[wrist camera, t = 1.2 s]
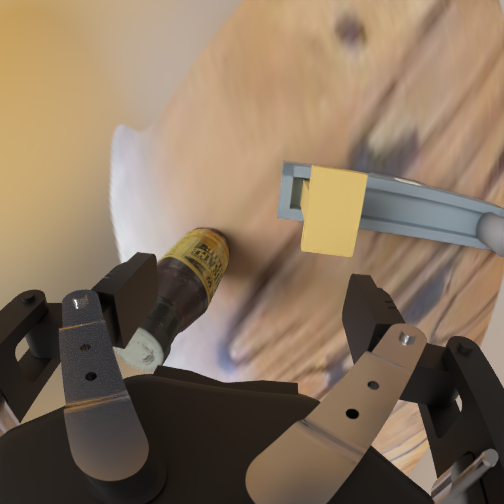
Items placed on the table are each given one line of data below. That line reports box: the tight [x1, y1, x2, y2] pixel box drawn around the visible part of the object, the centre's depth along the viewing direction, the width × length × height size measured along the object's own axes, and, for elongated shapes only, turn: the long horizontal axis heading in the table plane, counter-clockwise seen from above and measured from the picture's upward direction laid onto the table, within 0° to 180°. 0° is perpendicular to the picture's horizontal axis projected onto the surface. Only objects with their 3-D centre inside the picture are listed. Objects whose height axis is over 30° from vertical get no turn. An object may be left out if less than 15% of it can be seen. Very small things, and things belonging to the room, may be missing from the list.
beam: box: [277, 161, 504, 257], centre depth 27 cm, size 26×5×10 cm, turn 85°
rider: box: [300, 165, 368, 257], centre depth 25 cm, size 4×6×7 cm, turn 175°
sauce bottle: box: [114, 228, 230, 371], centre depth 28 cm, size 6×6×20 cm
